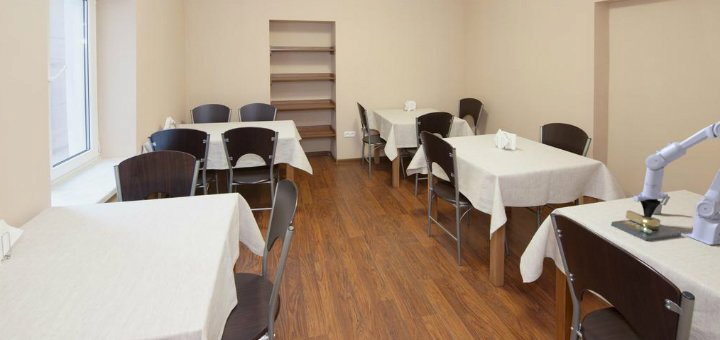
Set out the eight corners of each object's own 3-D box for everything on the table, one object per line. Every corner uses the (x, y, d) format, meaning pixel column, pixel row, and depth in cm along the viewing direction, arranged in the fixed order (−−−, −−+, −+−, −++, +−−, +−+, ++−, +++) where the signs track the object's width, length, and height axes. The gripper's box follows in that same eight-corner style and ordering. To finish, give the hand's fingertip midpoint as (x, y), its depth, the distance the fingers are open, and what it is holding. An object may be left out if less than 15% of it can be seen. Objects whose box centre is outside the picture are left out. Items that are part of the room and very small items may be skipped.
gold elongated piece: (663, 228, 169) (664, 221, 168) (650, 230, 168) (651, 223, 167) (633, 216, 182) (634, 209, 181) (621, 218, 180) (622, 211, 179)
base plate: (680, 236, 167) (681, 228, 166) (645, 240, 163) (647, 232, 162) (643, 221, 182) (644, 214, 181) (611, 225, 178) (612, 217, 177)
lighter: (652, 214, 190) (655, 196, 188) (649, 213, 191) (652, 195, 189) (667, 213, 190) (670, 195, 188) (664, 212, 192) (667, 194, 190)
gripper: (658, 180, 181) (653, 212, 184) (629, 182, 177) (624, 215, 180) (674, 184, 174) (668, 217, 177) (644, 187, 170) (639, 221, 174)
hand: (647, 217), depth 178 cm, fingers closed
